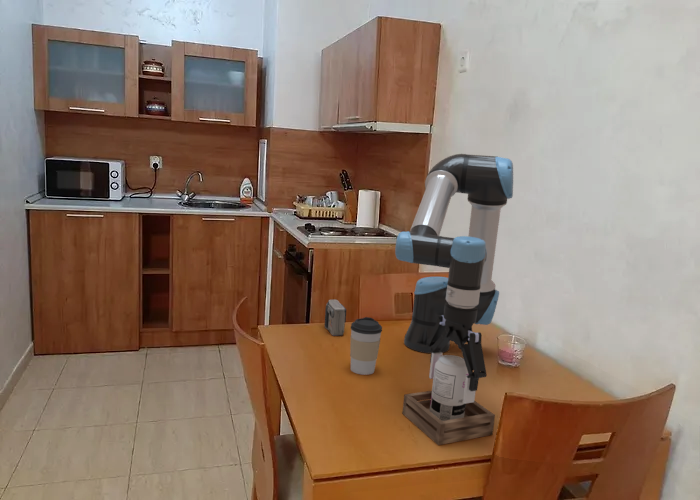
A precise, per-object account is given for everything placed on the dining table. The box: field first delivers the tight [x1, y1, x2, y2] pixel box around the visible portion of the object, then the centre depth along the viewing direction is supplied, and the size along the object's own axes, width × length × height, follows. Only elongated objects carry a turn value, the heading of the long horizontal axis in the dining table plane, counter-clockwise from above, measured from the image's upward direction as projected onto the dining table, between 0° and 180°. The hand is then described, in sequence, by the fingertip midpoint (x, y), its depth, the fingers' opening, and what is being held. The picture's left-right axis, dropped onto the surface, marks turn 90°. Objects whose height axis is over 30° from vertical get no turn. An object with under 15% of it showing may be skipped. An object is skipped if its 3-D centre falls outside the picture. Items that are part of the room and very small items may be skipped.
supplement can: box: [430, 354, 469, 421], centre depth 133 cm, size 8×8×15 cm
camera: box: [324, 299, 347, 337], centre depth 193 cm, size 11×6×10 cm, turn 14°
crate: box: [401, 390, 496, 446], centre depth 134 cm, size 15×15×5 cm
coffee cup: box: [349, 316, 383, 376], centre depth 161 cm, size 9×9×15 cm
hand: (450, 389), depth 133 cm, fingers open, 13 cm apart
